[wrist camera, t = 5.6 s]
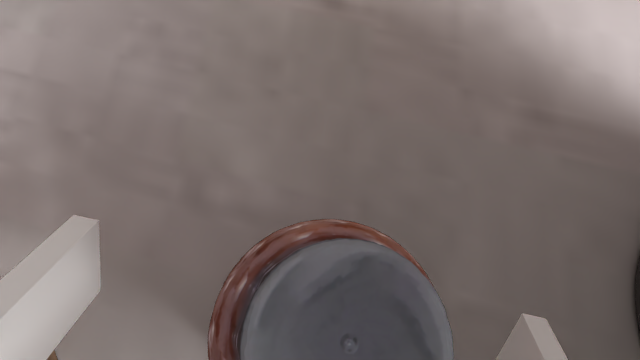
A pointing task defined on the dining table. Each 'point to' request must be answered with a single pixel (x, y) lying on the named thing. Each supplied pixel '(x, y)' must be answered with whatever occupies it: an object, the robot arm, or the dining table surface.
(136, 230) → the dining table surface
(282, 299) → the supplement bottle
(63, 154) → the dining table surface
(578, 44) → the dining table surface
